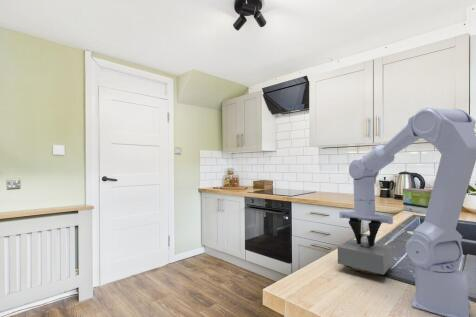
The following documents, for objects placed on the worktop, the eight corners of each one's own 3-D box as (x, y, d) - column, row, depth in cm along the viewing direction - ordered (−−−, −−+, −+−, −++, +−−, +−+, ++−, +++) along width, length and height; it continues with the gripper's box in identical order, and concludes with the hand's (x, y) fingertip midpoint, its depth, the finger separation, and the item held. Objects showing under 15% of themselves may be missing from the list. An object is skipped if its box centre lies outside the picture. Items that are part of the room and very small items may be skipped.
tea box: (402, 210, 169) (401, 188, 170) (412, 209, 173) (411, 187, 174) (426, 214, 155) (425, 190, 156) (436, 212, 159) (435, 189, 160)
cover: (393, 262, 76) (392, 234, 77) (383, 274, 67) (383, 242, 68) (351, 253, 84) (351, 228, 85) (337, 263, 75) (337, 234, 76)
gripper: (394, 199, 75) (395, 245, 74) (344, 196, 84) (345, 237, 84) (389, 202, 69) (391, 252, 69) (336, 198, 79) (337, 242, 79)
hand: (365, 244), depth 76 cm, fingers closed on cover, 3 cm apart
